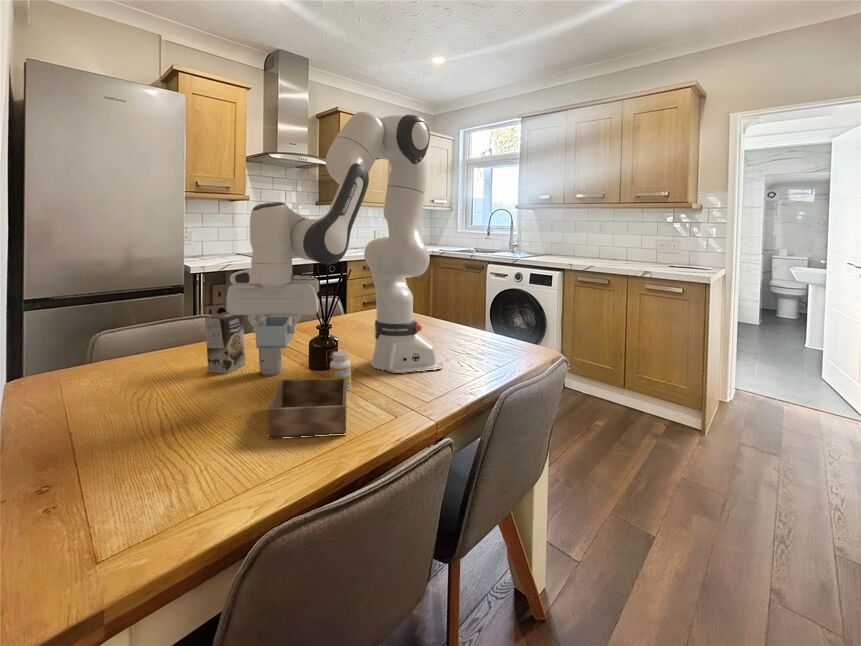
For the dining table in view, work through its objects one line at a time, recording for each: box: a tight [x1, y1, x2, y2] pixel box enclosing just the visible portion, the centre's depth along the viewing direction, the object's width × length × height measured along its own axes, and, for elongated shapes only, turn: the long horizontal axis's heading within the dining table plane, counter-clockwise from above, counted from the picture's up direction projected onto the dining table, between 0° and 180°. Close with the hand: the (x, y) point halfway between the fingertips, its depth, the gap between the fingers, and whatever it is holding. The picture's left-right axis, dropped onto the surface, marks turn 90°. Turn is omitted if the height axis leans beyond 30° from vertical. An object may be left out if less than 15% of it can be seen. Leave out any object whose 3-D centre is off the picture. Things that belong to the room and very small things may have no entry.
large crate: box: [267, 377, 347, 440], centre depth 100 cm, size 15×17×6 cm
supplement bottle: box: [329, 350, 352, 391], centre depth 119 cm, size 5×5×10 cm
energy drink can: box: [258, 348, 283, 376], centre depth 128 cm, size 6×6×15 cm
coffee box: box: [204, 311, 246, 375], centre depth 131 cm, size 9×6×16 cm
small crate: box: [255, 315, 294, 349], centre depth 107 cm, size 6×11×5 cm, turn 9°
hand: (275, 333), depth 107 cm, fingers closed on small crate, 6 cm apart
